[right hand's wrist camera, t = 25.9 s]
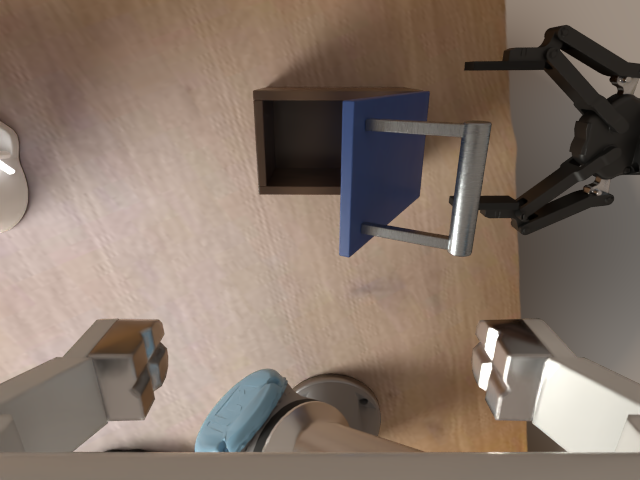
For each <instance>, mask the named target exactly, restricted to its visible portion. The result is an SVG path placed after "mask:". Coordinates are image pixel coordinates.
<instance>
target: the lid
mask: <svg viewBox="0 0 640 480" xmlns="http://www.w3.org/2000/svg"><path fill="white" fill-rule="evenodd" d="M429 94H430V92H429V91H419V92H410V93H402V94H394V95H385V96H377V97H369V98H360V99H352V100H344V101H343V108H342V154H341V199H340V244H339V255H340V256H345V257H350V256H352V255H353V254H354V253H355V252H356V251H357V250H359V249H360V248H361V247H362V246H363V245H364V244H365V243H367V242H368V241H369V240H370V239H371V238H372V237H374V236H378V237H383V238H388V239H394V240H399V241H404V242H409V243H415V244H420V245H425V246H431V247H436V248H441V249H447V251H448V253H450V254H452V255H455V256H460V257H465V256H469V255H471V253H472V247H473V241H474V234H475V228H476V221H477V215H478V208H479V202H480V195H481V189H482V182H483V176H484V169H485V163H486V157H487V150H488V144H489V137H490V131H491V123H490V122H487V121H465V122H464V123H446V122H428V121H427V115H428V104H429ZM425 135H435V136H450V137H462V139H461V147H460V155H459V162H458V170H457V178H456V185H455V193H454V201H453V209H452V216H451V224H450V232H449V236H445V235H439V234H434V233H428V232H422V231H417V230H411V229H405V228H399V227H394V226H388V225H387V224H389V223H390V222H391V221H392V220H393V219H394V218H395V217H397V216H398V215H399V214H400V213H401V212H402V211H403V210H405V209H406V208H407V207H408V206H409V205H410V204H412V203H413V202H414V201H415V200H416V199H417V198H418V197H419V196H420V187H421V177H422V166H423V156H424V146H425Z"/></svg>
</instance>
